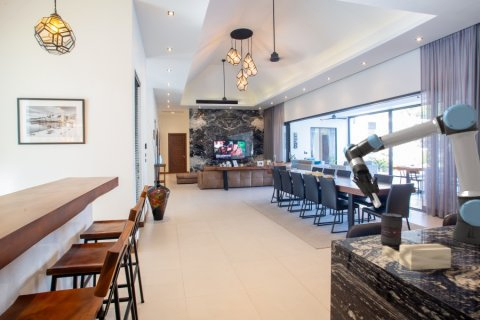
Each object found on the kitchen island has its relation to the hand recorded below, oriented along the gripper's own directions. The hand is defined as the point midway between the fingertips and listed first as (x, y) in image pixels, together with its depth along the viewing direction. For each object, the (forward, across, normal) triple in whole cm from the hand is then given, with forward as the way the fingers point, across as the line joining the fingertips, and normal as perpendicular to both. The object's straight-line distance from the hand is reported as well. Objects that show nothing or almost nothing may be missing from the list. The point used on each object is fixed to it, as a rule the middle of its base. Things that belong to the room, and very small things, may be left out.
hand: (378, 206), depth 131 cm
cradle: (+28, 0, +4) cm, 28 cm away
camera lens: (+19, 0, -6) cm, 20 cm away
